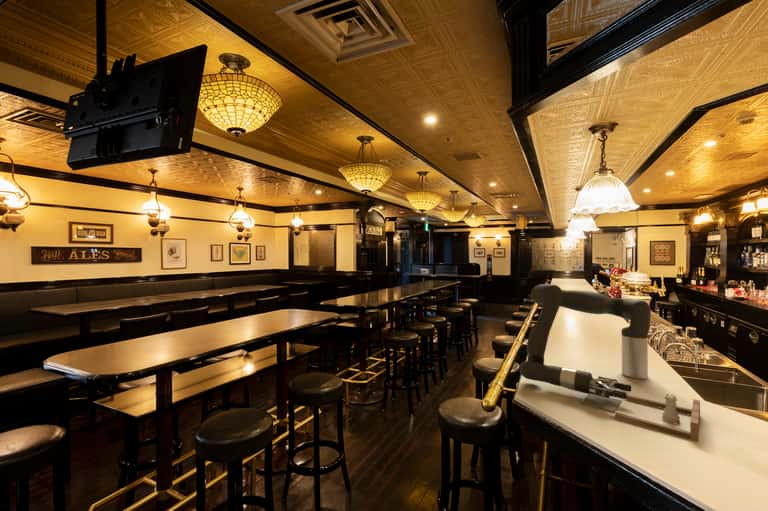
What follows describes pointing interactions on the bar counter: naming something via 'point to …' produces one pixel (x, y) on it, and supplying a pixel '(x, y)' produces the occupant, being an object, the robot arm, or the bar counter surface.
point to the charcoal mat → (601, 402)
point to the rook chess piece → (670, 409)
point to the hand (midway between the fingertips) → (629, 392)
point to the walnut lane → (667, 429)
